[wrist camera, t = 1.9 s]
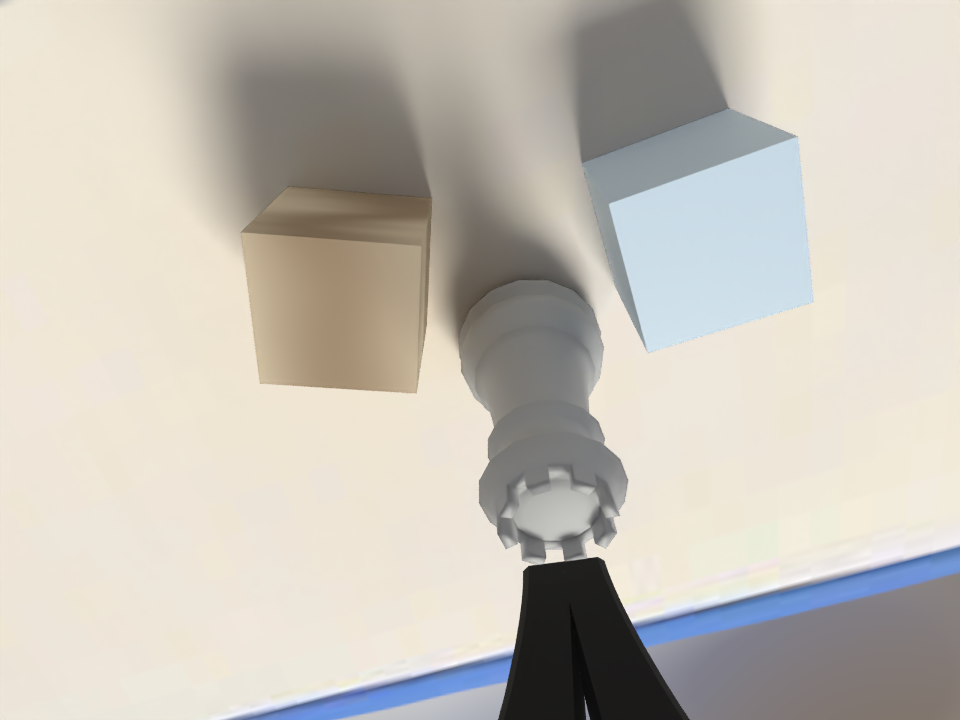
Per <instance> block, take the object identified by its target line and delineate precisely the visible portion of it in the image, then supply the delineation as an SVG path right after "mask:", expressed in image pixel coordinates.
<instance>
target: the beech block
mask: <svg viewBox="0 0 960 720" xmlns="http://www.w3.org/2000/svg"><path fill="white" fill-rule="evenodd" d="M431 211H432V198H426V197H413V196H401V195H388V194H376V193H363V192H351V191H338V190H326V189H313V188H301V187H287V188H286V189H285V190H284V191H283V192H282V193H281V194H280V195H279V196H278V197H277V198H276V199H275V200H274V201H273V202H272V203H271V204H270V205H269V206H268V207H267V208H266V209H265V210H264V211H262V212H261V213H260V214H259V215H258V216H257V217H256V218H255V219H254V220H253V221H252V222H251V223H250V224H249V225H248V226H247V227H246V228H245V229H244V230H243V231H242V232H241V237H242V245H243V253H244V261H245V269H246V277H247V285H248V293H249V301H250V309H251V317H252V325H253V333H254V341H255V349H256V357H257V365H258V373H259V381H260V384H276V385H292V386H307V387H323V388H339V389H355V390H370V391H386V392H402V393H417V387H418V380H419V373H420V367H421V360H422V353H423V346H424V340H425V333H426V326H427V308H428V284H429V259H430V235H431Z"/></svg>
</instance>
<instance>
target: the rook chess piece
mask: <svg viewBox="0 0 960 720" xmlns="http://www.w3.org/2000/svg"><path fill="white" fill-rule="evenodd" d="M600 336H601V331H600V329H599V326H598V323H597V320H596V317H595V314H594V312H593V309H592V308H591V307H590V306H589V305H588V304H587V303H586V302H585V301H584V300H583V299H582V298H581V297H580V296H579V295H578V294H577V293H576V292H575V291H574V290H572V289H569V288H566V287H564V286H561V285H559V284H556V283H554V282H551V281H548V280H517V281H514V282H512V283H509V284H506V285H504V286H501V287H499V288H496V289H493V290H491V291H489V292H488V293H487V294H486V295H485V296H484V297H483V298H482V299H481V300H480V301H478V302H477V303H476V304H475V305H474V306H473V307H472V308H471V309H470V310H469V312H468V314H467V317H466V319H465V321H464V323H463V326H462V328H461V330H460V332H459V352H460V359H461V372H462V374H463V376H464V378H465V380H466V382H467V384H468V386H469V388H470V390H471V392H472V394H473V396H474V398H475V399H476V400H477V401H479V402H480V403H481V404H482V405H483V406H484V408H486V409H487V410H488V411H489V412H490V413H491V417H492V420H493V424H494V429H493V431H492V433H491V435H490V436H489V438H488V458H489V460H490V462H489V464H488V466H487V468H486V469H485V471H484V473H483V475H482V477H481V479H480V480H479V504H480V505H481V507H482V509H483V511H484V512H485V514H486V516H487V518H488V520H489V521H490V523H492V524H493V525H495V526H496V527H497V534H498V536H499V537H500V539H501V541H502V543H503V545H504V546H505V548H506V549H507V548H510V547H512V546H514V545H516V544H518V542H519V543H520V544H521V554H522V561H526V562H529V563H533V564H536V565H540V564H544V562H545V559H546V552H545V550H563V554H564V560H565V561H571V560H579V559H587V555H586V550H585V545H584V543H586V542H587V541H589V540H590V539H592V538H593V537H594V541H595V544H597V545H599V546H601V547H603V548H605V549H606V547H607V546H608V545H609V543H610V542H611V541H612V539H613V538H614V537H615V535H616V534H617V531H616V527H615V524H614V520H613V517H616V516H620V515H619V509H620V508H621V506H622V505H623V504H624V502H625V496H626V490H627V484H628V478H627V476H626V473H625V471H624V468H623V465H622V463H621V460H620V459H619V458H618V457H617V456H616V455H615V454H614V453H613V452H611V451H610V450H609V449H608V448H607V447H606V446H605V445H604V441H605V438H604V435H603V433H602V430H601V428H600V425H599V422H598V421H597V420H596V419H595V418H594V417H593V416H592V415H590V414H589V402H588V397H589V395H590V394H591V392H592V391H593V388H594V386H595V385H596V383H597V381H598V380H599V378H600V374H601V367H602V358H603V350H604V346H603V343H602V340H601V337H600Z"/></svg>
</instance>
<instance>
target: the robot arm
mask: <svg viewBox="0 0 960 720" xmlns="http://www.w3.org/2000/svg"><path fill="white" fill-rule="evenodd" d="M571 615H572V616H571ZM584 696H585V699H584ZM585 700H586V704H587V709H588V713H589V717H590V720H690V719H689V718H688V716H687V715H686V713H685V712H684V710H683V709H682V708H681V706H680V704H679V703H678V701H677V700H676V698H675V696H674V695H673V693H672V692H671V690H670V689H669V687H668V685H667V684H666V682H665V680H664V679H663V677H662V675H661V674H660V672H659V670H658V669H657V667H656V665H655V664H654V662H653V660H652V659H651V657H650V655H649V654H648V652H647V650H646V648H645V647H644V645H643V643H642V641H641V639H640V638H639V636H638V634H637V632H636V630H635V628H634V627H633V625H632V623H631V621H630V619H629V617H628V615H627V613H626V611H625V609H624V607H623V605H622V603H621V601H620V599H619V597H618V594H617V592H616V590H615V588H614V585H613V583H612V580H611V578H610V575H609V573H608V570H607V567H606V564H605V561H604V560H602V559H600V558H598V557H594V558H587V559H579V560H571V561H564V562H556V563H548V564H540V565H533V566H528V567H527V568H526V569H525V570H524V571H523V593H522V604H521V612H520V620H519V626H518V632H517V638H516V644H515V649H514V654H513V659H512V664H511V668H510V673H509V678H508V682H507V687H506V692H505V696H504V700H503V704H502V707H501V711H500V715H499V719H498V720H586V713H585Z"/></svg>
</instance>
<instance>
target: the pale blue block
mask: <svg viewBox="0 0 960 720" xmlns="http://www.w3.org/2000/svg"><path fill="white" fill-rule="evenodd" d="M582 167H583V170H584V174H585V178H586V181H587V185H588V188H589V192H590V196H591V199H592V203H593V207H594V210H595V214H596V217H597V221H598V225H599V228H600V232H601V235H602V239H603V243H604V246H605V250H606V253H607V257H608V261H609V264H610V268H611V271H612V275H613V279H614V282H615V286H616V289H617V291H618V293H619V295H620V297H621V299H622V301H623V304H624V306H625V308H626V310H627V312H628V314H629V316H630V318H631V320H632V322H633V324H634V326H635V328H636V330H637V332H638V334H639V336H640V338H641V340H642V342H643V344H644V346H645V348H646V350H647V352H648V353H650V352H653V351H656V350H660V349H663V348H666V347H669V346H673V345H676V344H679V343H682V342H686V341H689V340H692V339H695V338H699V337H702V336H705V335H708V334H712V333H715V332H718V331H721V330H725V329H728V328H731V327H734V326H738V325H741V324H744V323H747V322H751V321H754V320H757V319H760V318H764V317H767V316H770V315H773V314H776V313H780V312H783V311H786V310H789V309H793V308H796V307H799V306H802V305H806V304H809V303H812V302H814V300H813V290H812V279H811V269H810V258H809V248H808V237H807V227H806V216H805V206H804V195H803V185H802V174H801V164H800V153H799V143H798V136H795V135H793V134H790V133H788V132H786V131H783V130H781V129H778V128H776V127H773V126H771V125H768V124H766V123H764V122H761V121H759V120H756V119H754V118H751V117H749V116H747V115H744V114H742V113H739V112H737V111H734V110H732V109H729V108H728V109H726V110H723V111H720V112H718V113H715V114H712V115H709V116H707V117H704V118H701V119H699V120H696V121H693V122H691V123H688V124H685V125H683V126H680V127H677V128H675V129H672V130H669V131H666V132H664V133H661V134H658V135H656V136H653V137H650V138H648V139H645V140H642V141H640V142H637V143H634V144H632V145H629V146H626V147H624V148H621V149H618V150H615V151H613V152H610V153H607V154H605V155H602V156H599V157H597V158H594V159H591V160H589V161H586V162H583V163H582Z"/></svg>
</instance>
